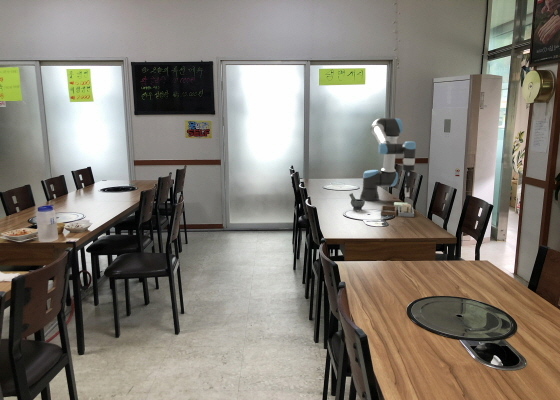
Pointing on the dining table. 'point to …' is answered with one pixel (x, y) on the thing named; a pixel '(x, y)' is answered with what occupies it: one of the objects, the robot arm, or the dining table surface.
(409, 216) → the tray grey
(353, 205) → the mortar and pestle
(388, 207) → the tray walnut
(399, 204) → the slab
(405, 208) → the letter cube
